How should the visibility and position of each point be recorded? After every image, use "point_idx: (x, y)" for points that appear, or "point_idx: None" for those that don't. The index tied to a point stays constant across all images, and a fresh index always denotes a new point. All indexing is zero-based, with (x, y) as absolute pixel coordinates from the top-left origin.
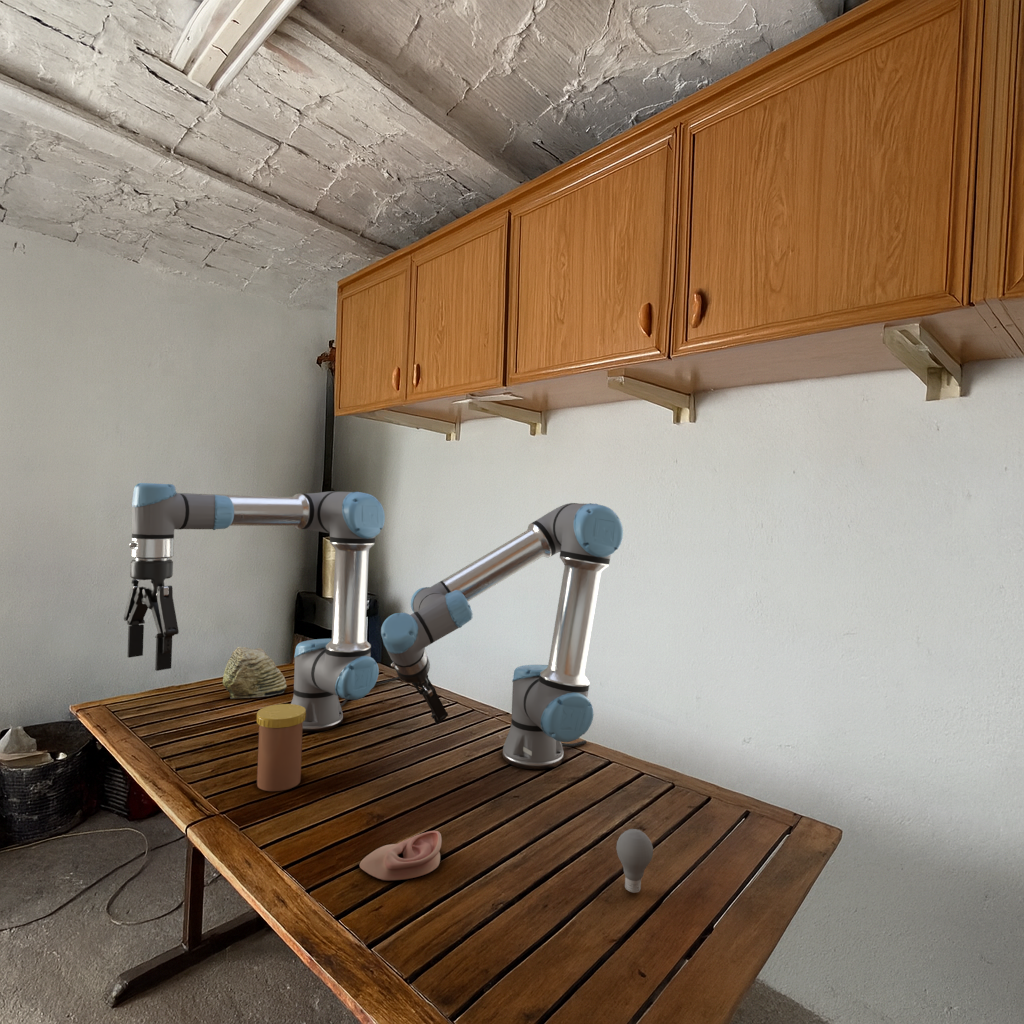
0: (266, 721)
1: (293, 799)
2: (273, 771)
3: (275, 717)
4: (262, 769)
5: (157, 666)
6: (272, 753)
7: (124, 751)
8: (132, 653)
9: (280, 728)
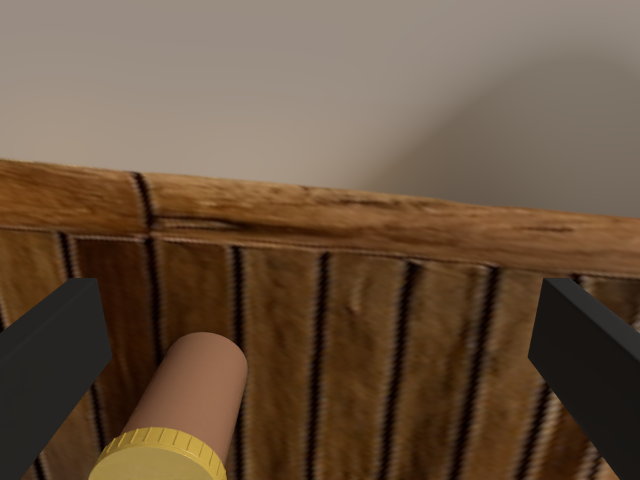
0: (123, 443)
1: (118, 349)
2: (161, 366)
3: (113, 468)
4: (183, 357)
5: (55, 294)
6: (148, 391)
7: (608, 225)
8: (552, 311)
9: None
